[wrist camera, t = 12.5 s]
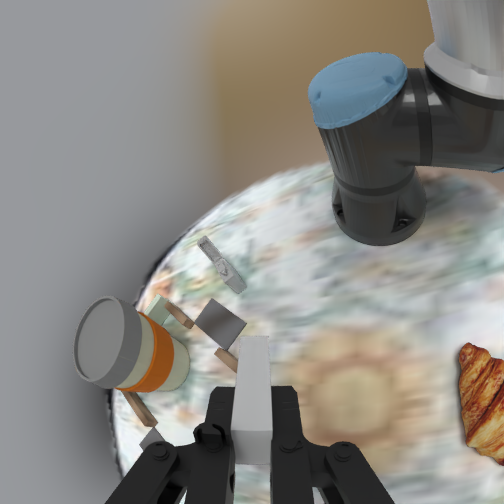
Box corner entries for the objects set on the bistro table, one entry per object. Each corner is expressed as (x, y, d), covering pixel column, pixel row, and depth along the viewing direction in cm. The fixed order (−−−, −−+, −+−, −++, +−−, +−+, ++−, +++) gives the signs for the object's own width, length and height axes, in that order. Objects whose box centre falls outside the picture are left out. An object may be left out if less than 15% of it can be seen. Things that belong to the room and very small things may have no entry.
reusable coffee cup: (141, 338, 47) (76, 307, 36) (195, 321, 44) (129, 281, 33) (143, 404, 39) (69, 386, 28) (203, 396, 36) (125, 378, 25)
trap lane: (310, 366, 33) (305, 363, 31) (189, 503, 27) (180, 506, 25) (188, 280, 49) (181, 274, 48) (108, 394, 43) (99, 391, 42)
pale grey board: (175, 305, 48) (160, 296, 44) (122, 381, 44) (106, 376, 41) (172, 302, 48) (157, 293, 45) (119, 376, 44) (103, 371, 41)
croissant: (523, 450, 13) (564, 431, 8) (483, 503, 11) (531, 495, 5) (465, 342, 27) (500, 307, 21) (420, 381, 24) (461, 350, 18)
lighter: (246, 287, 43) (220, 262, 37) (238, 294, 43) (210, 270, 37) (228, 258, 48) (203, 232, 42) (220, 265, 48) (194, 240, 42)
